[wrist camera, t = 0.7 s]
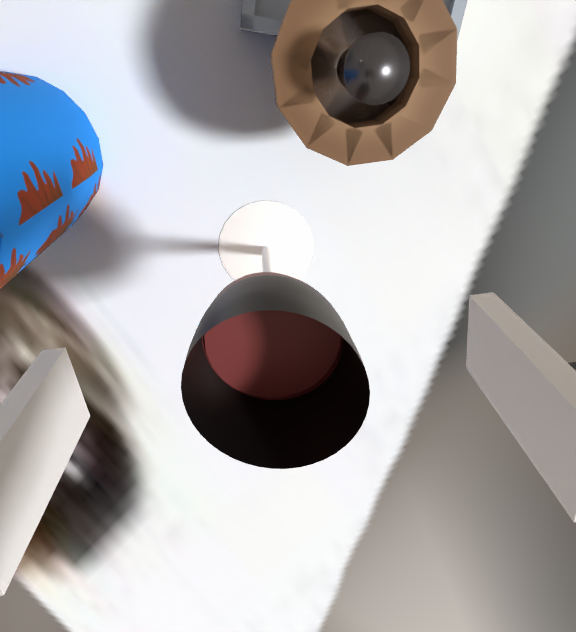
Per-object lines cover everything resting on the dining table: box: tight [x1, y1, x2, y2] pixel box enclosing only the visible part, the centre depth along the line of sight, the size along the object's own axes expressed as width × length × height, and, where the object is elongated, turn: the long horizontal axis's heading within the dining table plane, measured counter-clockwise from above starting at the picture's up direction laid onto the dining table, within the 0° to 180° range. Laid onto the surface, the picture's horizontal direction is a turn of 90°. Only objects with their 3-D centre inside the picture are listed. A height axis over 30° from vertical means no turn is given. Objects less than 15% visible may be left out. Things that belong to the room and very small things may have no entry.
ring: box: [270, 0, 457, 166], centre depth 28 cm, size 10×10×2 cm
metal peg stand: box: [311, 9, 410, 123], centre depth 30 cm, size 7×7×11 cm
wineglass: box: [181, 201, 370, 469], centre depth 31 cm, size 8×9×20 cm
